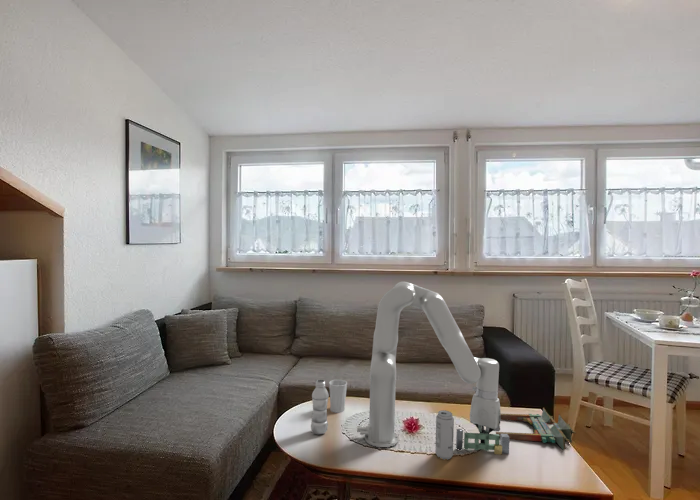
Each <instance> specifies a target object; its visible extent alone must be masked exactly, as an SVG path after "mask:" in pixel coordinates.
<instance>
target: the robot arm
mask: <svg viewBox="0 0 700 500" xmlns="http://www.w3.org/2000/svg"><path fill="white" fill-rule="evenodd" d="M409 306H411V307H413V308H415V309H418V310H421V311H423V312H424V314H425V316H426V318H427V320H428V322H429V324H430V325H431V327H432V329H433V331H434V333H435V335H436V337H437V338H438V340H439V343H440V344H441V346H442V348H444V350H445V352H446V353H447V354H448V357H449V358H450V360H451V362H452V364H453V365H454V368H455V370H456V372H457V374H458V376H459V378H460V379H461V380H462V381H463V382H464V383H466V384H470V385H471V384H476V385H475V386H472V388H471V389H472V391H474V392H475V393H473V395H472V400H471V404H470V411H469V421H470V424H472V425H474V426H476V429H478V432H479V433H483V434H491V433H492V432H501V426H500V425H501V414H502V412H501V404H500V398H498V394H499V393H498V392H499V375H500V373H499V372H500V363H499V362H498V361H497V360H496V359H494V358H489V357H481V358H480V357H475V356H474V355H473V352H472V350H471V349H470V347H469V345H468V343H467V341H466V340H465V337H464V335H463V333H462V331H461V329H460V327H459V326H458V323H457V322H456V320H455V318H454V315H452V313H451V311H450V309H449V307H448V305H447V302H446V301H445V299H444V298H443V297H442V296H441V295H440V293H439V292H436V291H433V290H430V289H428V288H424V287H421V286H419V285H417V284H413V283H411V282H408V281H399V282H397V283H396V284H395V285H394V286H393V288H391V289H389V290H388V291H387V292H385V293H384V295H383V296H382V297H381V298H380V301H379V302H378V305H377V312H376V313H377V314H376V318H375V319H376V320H375V329H374V332H373V337H372V338H373V341H372V352H371V353H372V354H371V355H372V356H371V362H370V370H369V412H368V413H369V421H368V422H369V423H368V425H367V426H366V425H365V426H357V428H356V429H357V430H356V431H357V433H359V434H360V435H361V436H362V435H364V441H365V442H366V443H367V444H368V445H370V446H373V447H375V446H376V448H380V447H387V448H391V447H390V446H392V447H394V446H395V444H396V443H397V442H398V443H399V435H398V434H397V433H395V428H396V427H395V425H396V423H395V422H396V421H395V418H396V417H395V416H396V385H397V383H396V382H397V364H396V361H397V360H396V359H397V348H398V347H397V346H398V344H399V343H398V342H399V327H400V326H399V324H400V316H401V312H402V311H403V309H405V308H406V307H409ZM479 441H480V442H479V443H485V440H484V439H479ZM398 443H397V444H398ZM397 444H396V445H397ZM393 445H394V446H393Z"/></svg>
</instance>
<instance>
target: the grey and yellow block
mask: <svg viewBox="0 0 700 500" xmlns="http://www.w3.org/2000/svg"><path fill="white" fill-rule="evenodd" d="M493 444H494V450H493V454H494V455H500V456H501V455H503V454H504V455H505V454H506V455H510V439H509V436H508V434H500V445H498V444H495V443H493Z"/></svg>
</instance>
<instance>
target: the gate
mask: <svg viewBox="0 0 700 500" xmlns="http://www.w3.org/2000/svg"><path fill="white" fill-rule="evenodd" d="M470 439H471V440H474V442H469V440H470ZM480 439H484V440H485V443H480V442H479V441H480ZM463 440H464V441H463V449H464V448H465V449H468V450H470V449H471V450H475V451H479V450H484V451H486V452H487V451H488V452H489V451H494V444H498V445H500V435H499V434H496V433H489V434H483V433H480V432H479V433H478V432H464V431H463ZM490 441H494V443H490ZM465 449H464V450H465Z"/></svg>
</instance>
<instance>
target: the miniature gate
mask: <svg viewBox="0 0 700 500" xmlns="http://www.w3.org/2000/svg"><path fill="white" fill-rule="evenodd" d="M501 420H503V421H519V422H520V421H521V422H527V423H529V425H532V427H533V428H534V430H533V433H532V432H531V433H527V432H507V431H495V434H499V435H500V434H508V436H509V440H514V441H529V442H531V441H532V442H542V443H548V442H549V443H552V444H556V443H557V445H558V446H559V447H560V448H561V450H563V451H565V450H566V442H568V443H570V444H572V443H573V442H572V441H573V440H572V438H573V437H572V435H573V434H575V435H576V434H577V432H576V431H574V430H573V429H572V427H571V426H570V423H567V422H566V421H565V420H564V418H563V417H562V415H561V414H558V420H557V422H556V421H555V420H554V416H553V415H550V414H549V413H548V411H547V410H546V409H545V407H542V412H541V415H540V413H536V414H533V413H528V414H526V413H525V414H524V413H501Z"/></svg>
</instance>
